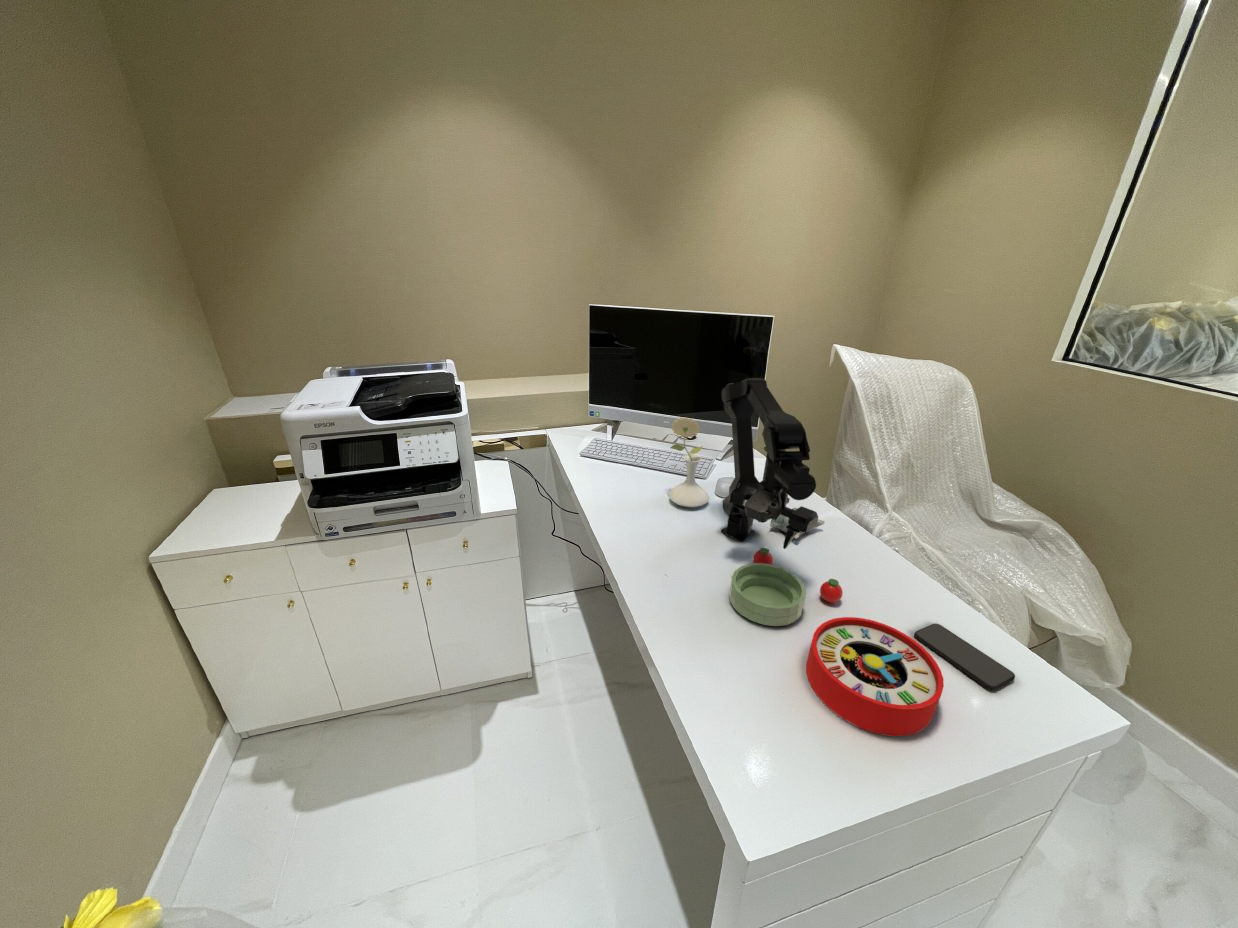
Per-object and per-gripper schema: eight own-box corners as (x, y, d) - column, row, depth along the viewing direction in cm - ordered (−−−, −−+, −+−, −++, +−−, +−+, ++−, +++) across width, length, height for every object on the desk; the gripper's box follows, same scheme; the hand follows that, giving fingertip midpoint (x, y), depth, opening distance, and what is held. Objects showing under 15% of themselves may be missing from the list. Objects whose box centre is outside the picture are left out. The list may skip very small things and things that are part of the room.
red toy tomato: (817, 591, 109) (821, 573, 107) (838, 595, 108) (843, 577, 106) (819, 604, 105) (823, 586, 103) (841, 608, 104) (846, 589, 102)
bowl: (752, 573, 114) (755, 555, 112) (813, 604, 105) (818, 584, 103) (715, 602, 105) (718, 583, 103) (779, 639, 95) (783, 618, 93)
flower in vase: (714, 499, 146) (724, 418, 136) (698, 515, 138) (707, 429, 127) (674, 487, 153) (680, 409, 142) (656, 502, 144) (661, 419, 134)
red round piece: (758, 559, 119) (761, 542, 117) (775, 567, 117) (778, 550, 115) (748, 567, 116) (751, 549, 114) (765, 575, 114) (768, 557, 112)
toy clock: (788, 627, 90) (879, 608, 95) (783, 652, 92) (872, 632, 98) (868, 722, 73) (974, 692, 78) (859, 750, 75) (963, 719, 80)
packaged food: (822, 531, 132) (826, 514, 130) (794, 545, 125) (798, 528, 123) (794, 517, 138) (797, 501, 136) (766, 530, 132) (769, 513, 130)
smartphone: (936, 621, 100) (1018, 674, 87) (935, 625, 100) (1016, 678, 88) (911, 632, 97) (993, 689, 84) (910, 636, 97) (991, 693, 85)
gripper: (718, 474, 108) (711, 536, 114) (800, 506, 96) (787, 572, 102) (746, 460, 115) (737, 519, 121) (825, 487, 103) (811, 551, 110)
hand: (766, 539), depth 113 cm, fingers open, 9 cm apart
